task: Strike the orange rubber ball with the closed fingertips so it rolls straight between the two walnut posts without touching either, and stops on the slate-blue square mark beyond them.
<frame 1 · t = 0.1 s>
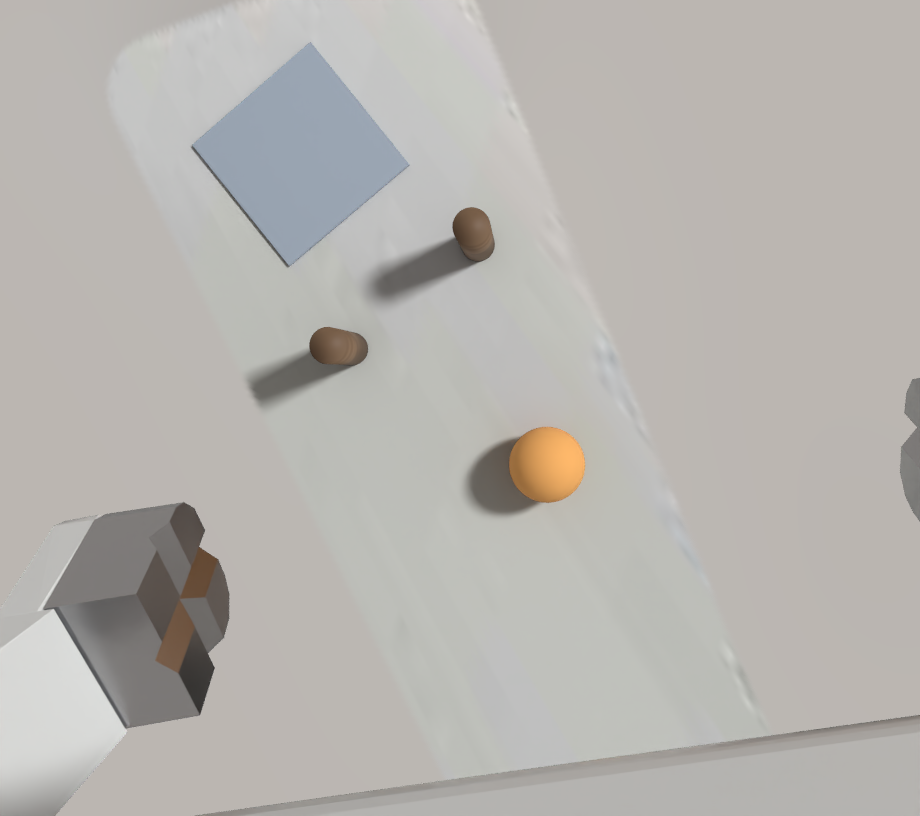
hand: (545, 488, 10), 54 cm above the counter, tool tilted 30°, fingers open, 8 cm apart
post 2: (352, 348, 65), on the counter
post 1: (478, 244, 63), on the counter
ball: (546, 464, 61), on the counter
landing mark: (300, 155, 64), on the counter
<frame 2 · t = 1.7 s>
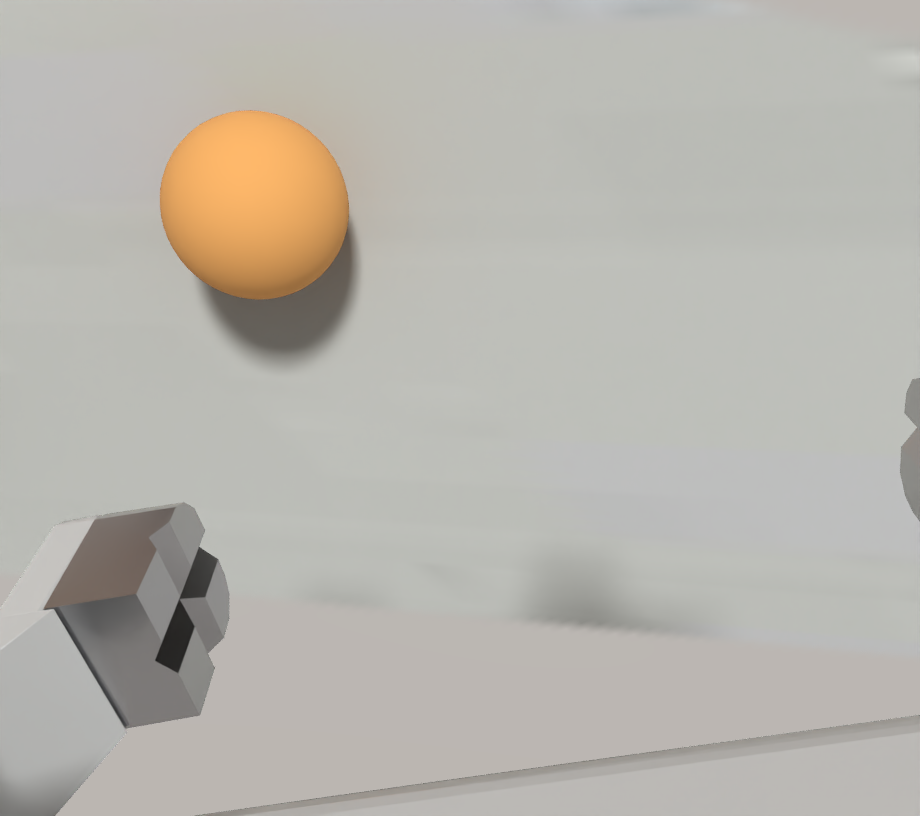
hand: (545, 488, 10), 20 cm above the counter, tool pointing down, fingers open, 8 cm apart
ball: (256, 207, 25), on the counter
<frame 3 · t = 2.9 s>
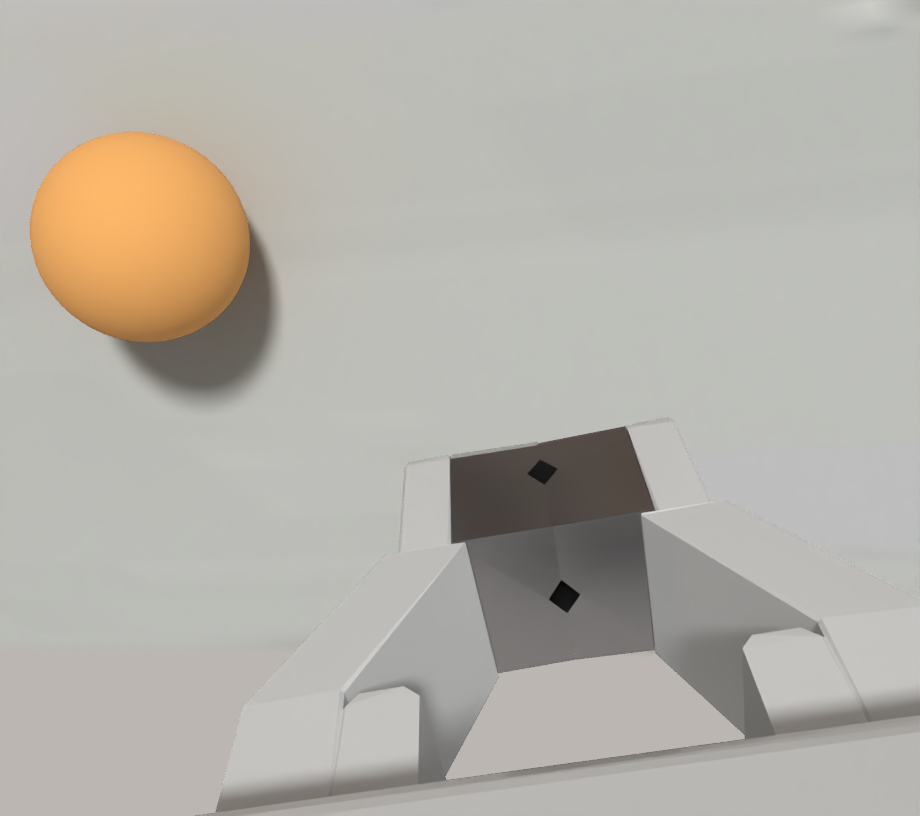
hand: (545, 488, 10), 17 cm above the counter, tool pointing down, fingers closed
ball: (144, 239, 23), on the counter
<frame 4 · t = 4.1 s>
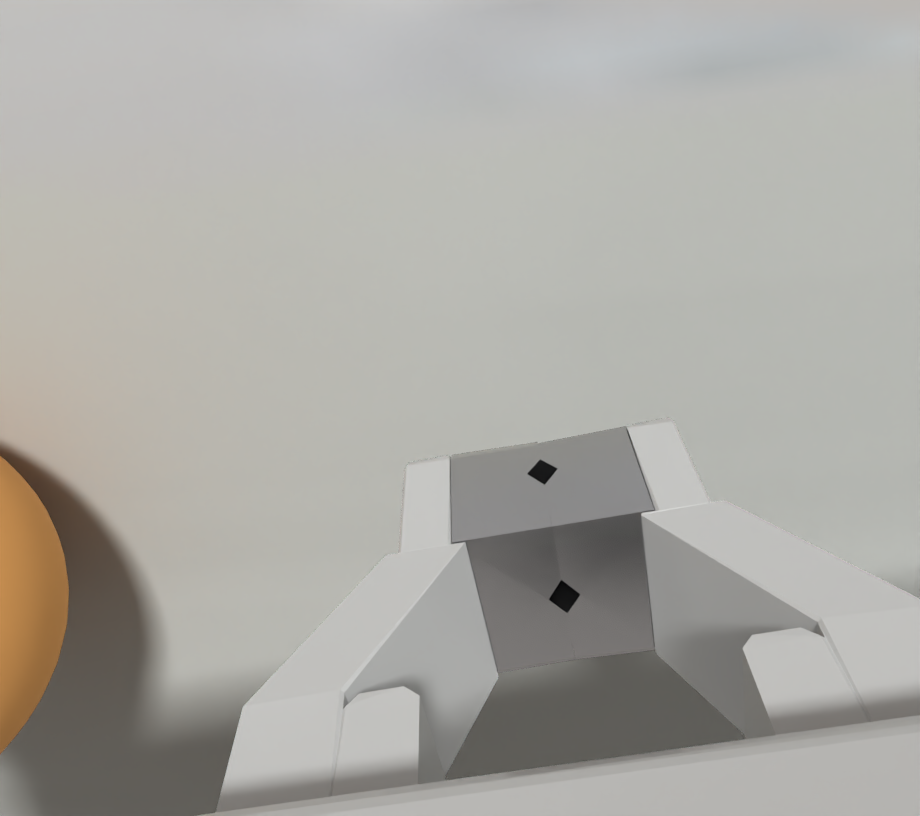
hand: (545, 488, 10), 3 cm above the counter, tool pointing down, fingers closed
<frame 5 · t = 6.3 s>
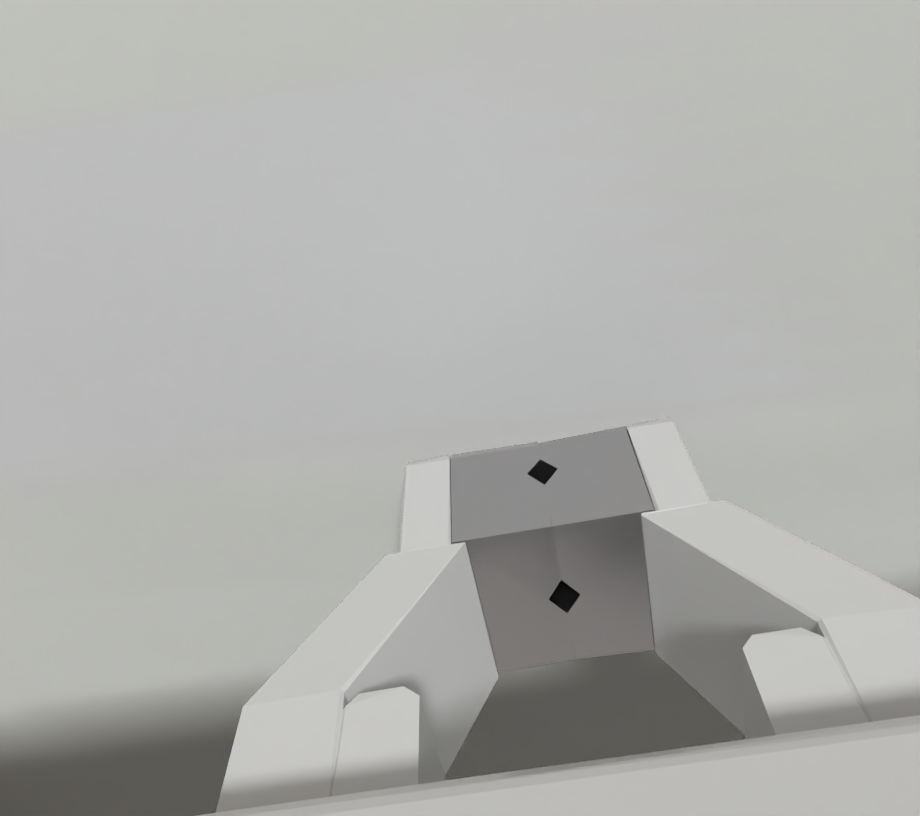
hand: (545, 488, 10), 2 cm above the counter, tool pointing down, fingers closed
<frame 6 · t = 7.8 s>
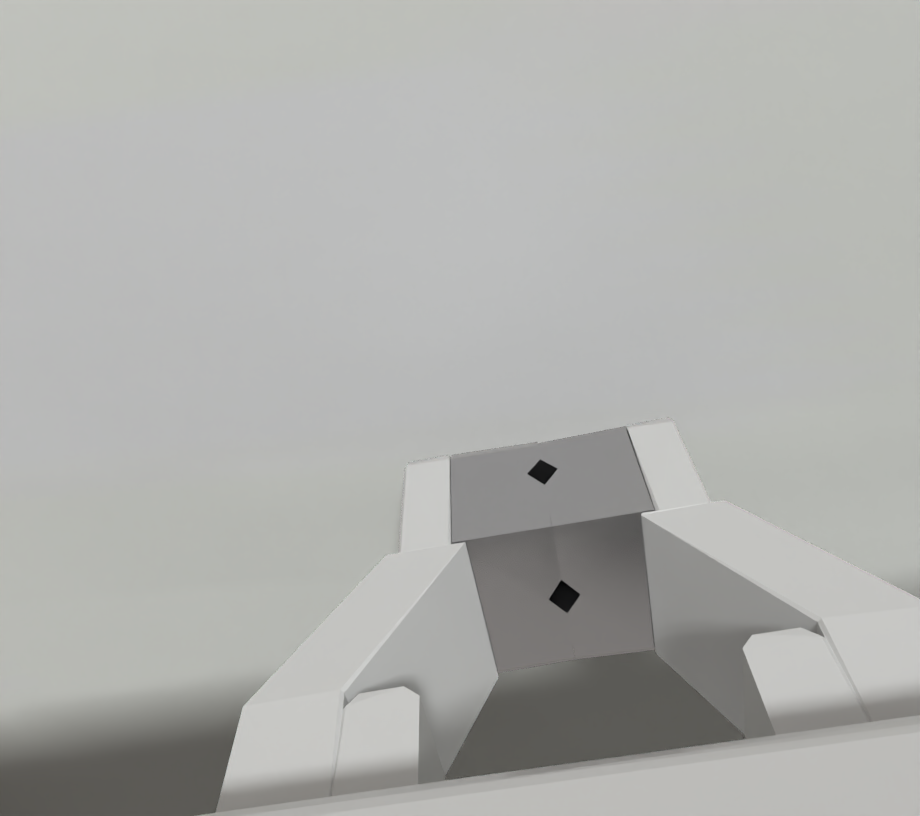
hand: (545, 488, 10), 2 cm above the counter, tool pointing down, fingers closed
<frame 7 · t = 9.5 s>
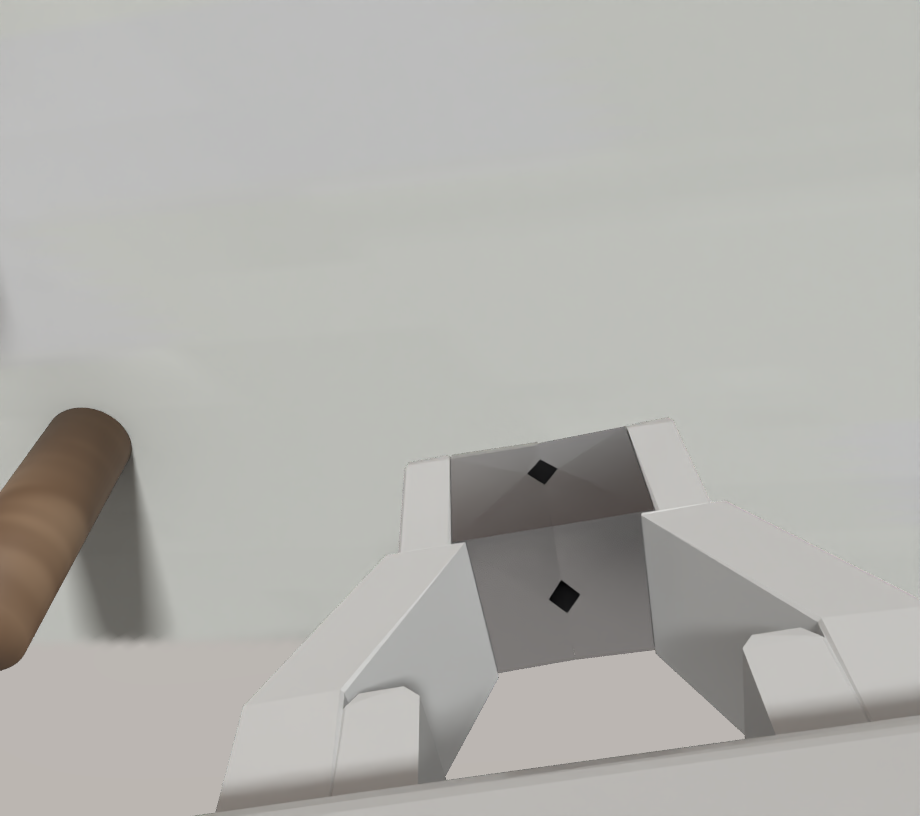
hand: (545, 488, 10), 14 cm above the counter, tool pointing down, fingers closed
post 2: (89, 442, 26), on the counter
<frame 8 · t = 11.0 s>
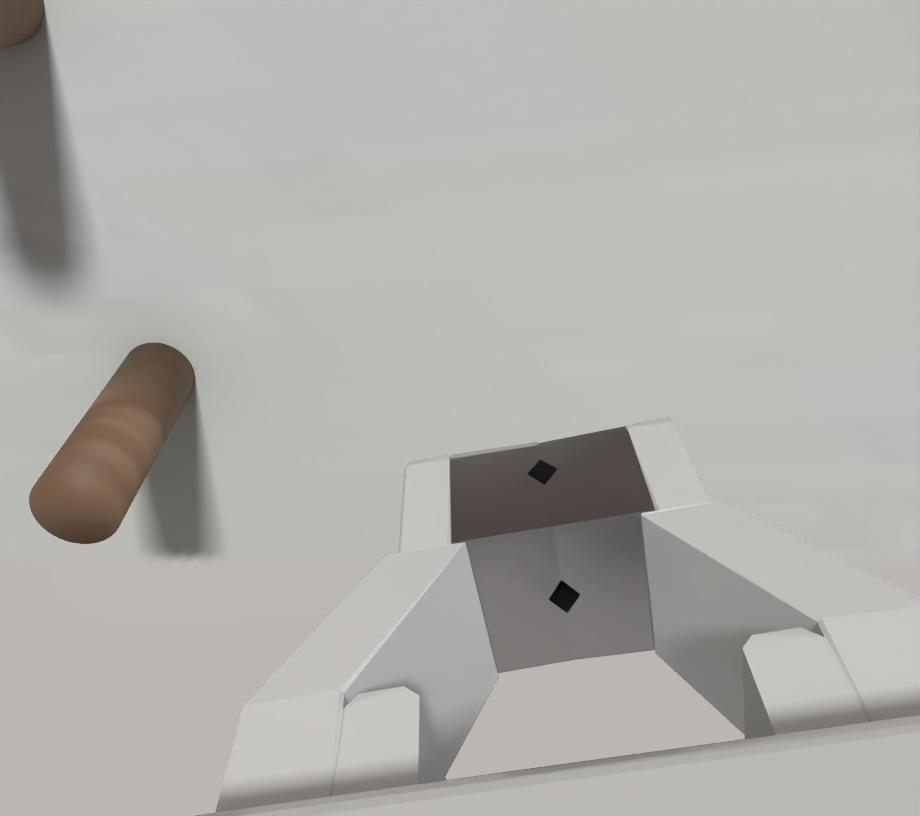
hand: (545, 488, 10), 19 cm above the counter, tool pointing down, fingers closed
post 2: (159, 373, 30), on the counter
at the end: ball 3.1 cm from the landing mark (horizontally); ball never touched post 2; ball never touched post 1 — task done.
